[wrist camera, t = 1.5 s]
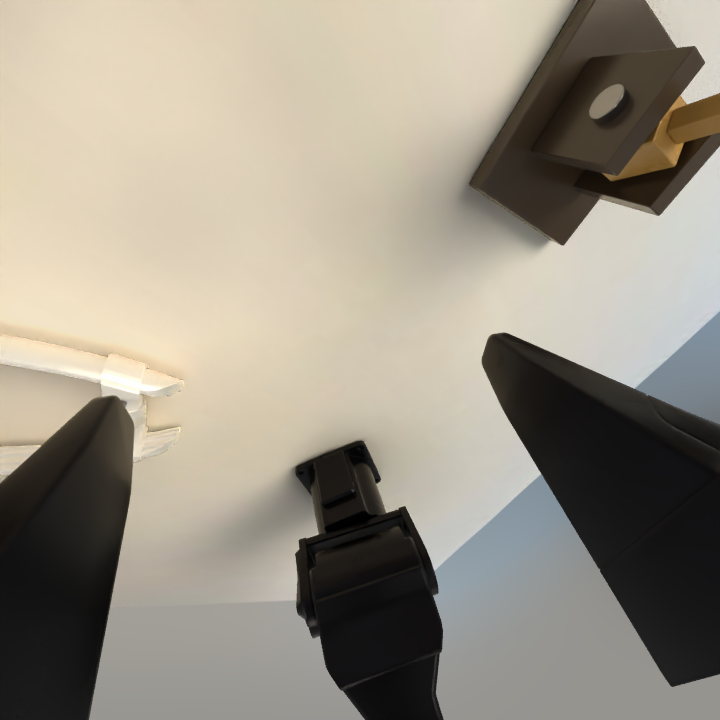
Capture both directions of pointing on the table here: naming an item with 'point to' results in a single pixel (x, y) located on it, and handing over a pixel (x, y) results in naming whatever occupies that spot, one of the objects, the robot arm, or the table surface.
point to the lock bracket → (593, 121)
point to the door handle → (115, 379)
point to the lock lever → (673, 136)
